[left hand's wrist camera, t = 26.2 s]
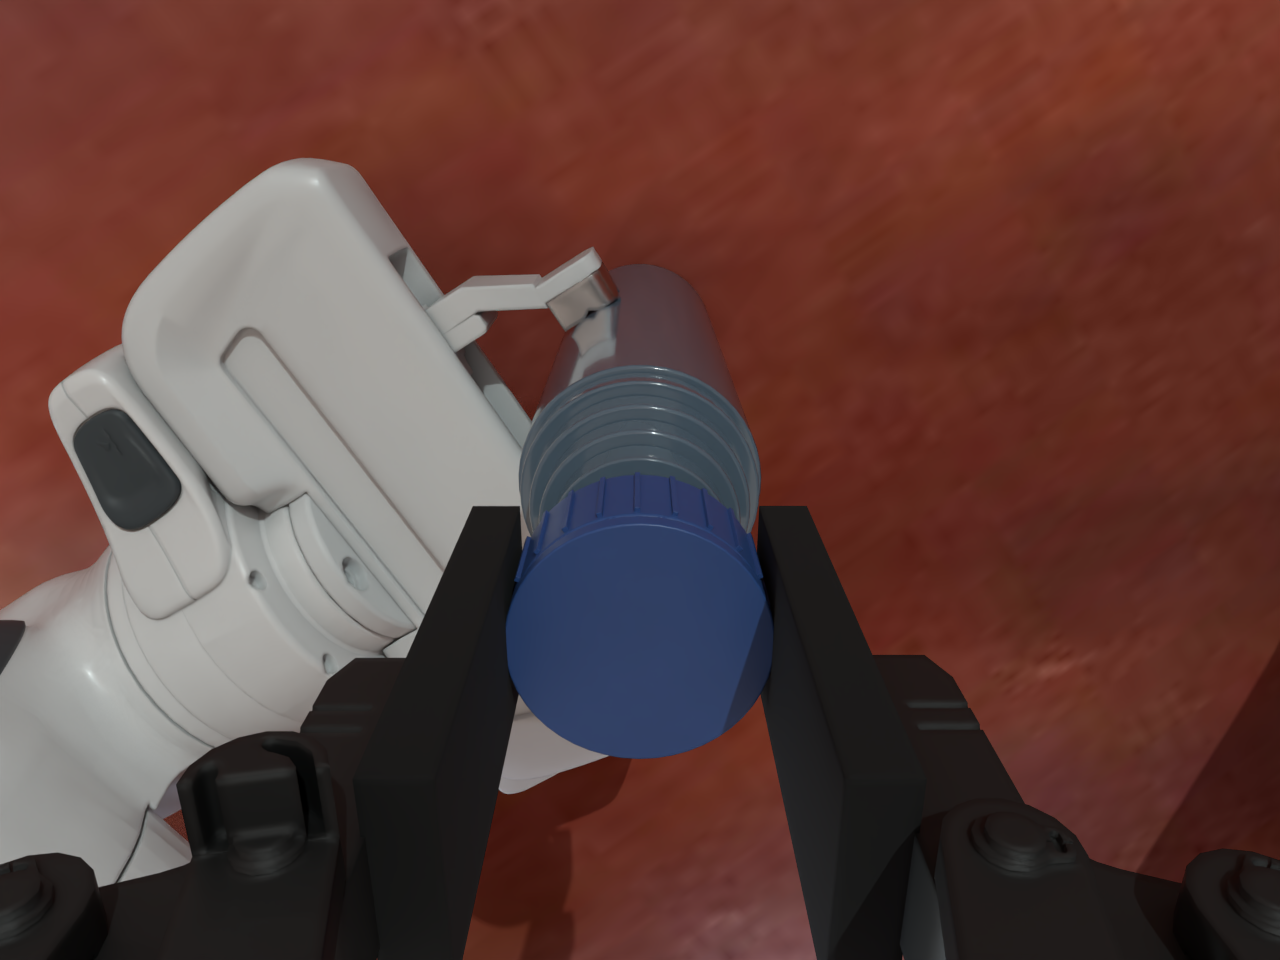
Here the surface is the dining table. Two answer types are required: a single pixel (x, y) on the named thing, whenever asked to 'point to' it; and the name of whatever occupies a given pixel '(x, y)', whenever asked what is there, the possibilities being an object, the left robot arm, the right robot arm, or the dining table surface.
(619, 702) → the cap
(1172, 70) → the dining table surface
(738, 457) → the bottle
